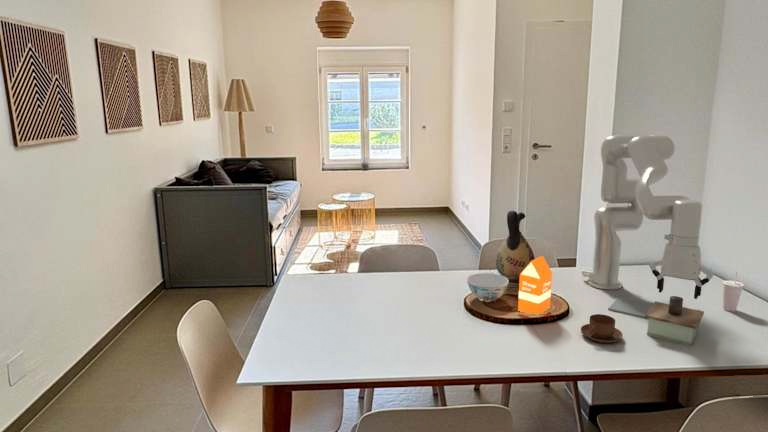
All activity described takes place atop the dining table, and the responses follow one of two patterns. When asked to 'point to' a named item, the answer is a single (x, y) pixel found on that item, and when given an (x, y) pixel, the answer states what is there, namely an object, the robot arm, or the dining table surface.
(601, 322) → the cup and saucer
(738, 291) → the smoothie
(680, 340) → the dish
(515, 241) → the ceramic jug
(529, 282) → the orange juice
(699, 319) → the lid
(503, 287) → the chinaware
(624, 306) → the mat
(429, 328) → the dining table surface
